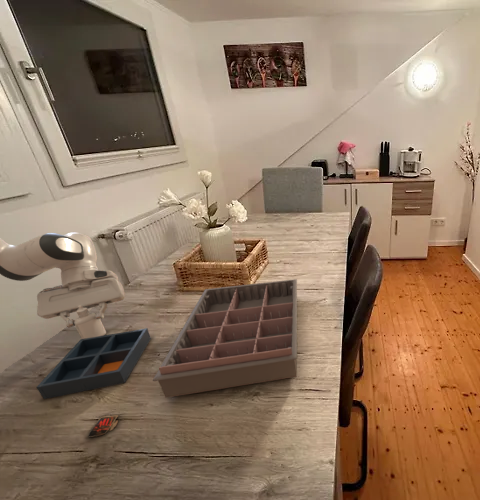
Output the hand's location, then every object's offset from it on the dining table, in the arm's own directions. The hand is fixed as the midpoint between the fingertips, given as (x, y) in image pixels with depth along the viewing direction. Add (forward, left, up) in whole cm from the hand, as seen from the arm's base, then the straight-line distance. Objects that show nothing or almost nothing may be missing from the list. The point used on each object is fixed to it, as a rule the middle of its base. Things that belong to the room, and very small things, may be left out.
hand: (86, 322), depth 85 cm
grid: (+9, -13, -7) cm, 17 cm away
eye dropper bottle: (0, +1, -7) cm, 7 cm away
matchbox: (+19, -34, -7) cm, 40 cm away
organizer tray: (+47, -13, -7) cm, 49 cm away
